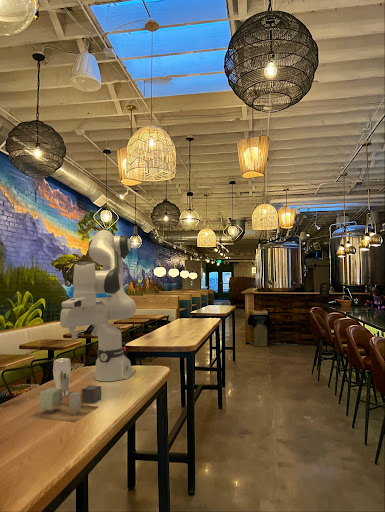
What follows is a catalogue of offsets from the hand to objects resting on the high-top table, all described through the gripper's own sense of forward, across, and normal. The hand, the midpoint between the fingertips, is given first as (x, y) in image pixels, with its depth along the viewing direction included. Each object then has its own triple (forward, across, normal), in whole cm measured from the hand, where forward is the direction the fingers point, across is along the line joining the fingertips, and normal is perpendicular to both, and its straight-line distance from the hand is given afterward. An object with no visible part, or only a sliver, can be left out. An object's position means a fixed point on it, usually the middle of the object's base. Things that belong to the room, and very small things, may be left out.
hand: (84, 337), depth 145 cm
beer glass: (+25, 0, -15) cm, 29 cm away
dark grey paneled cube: (+25, -1, +3) cm, 25 cm away
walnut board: (+26, +12, +4) cm, 28 cm away
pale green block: (+25, +14, -1) cm, 28 cm away
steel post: (+25, +11, +9) cm, 28 cm away
